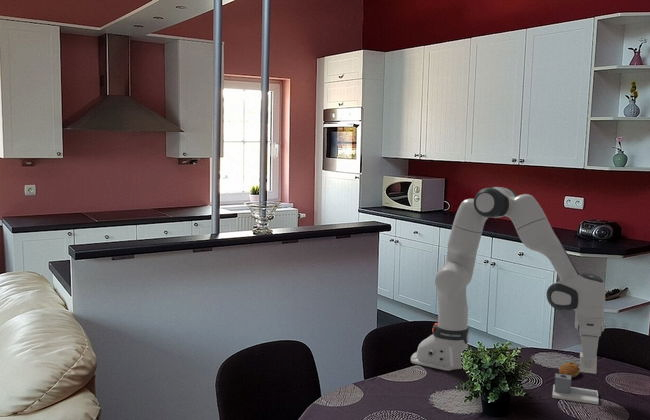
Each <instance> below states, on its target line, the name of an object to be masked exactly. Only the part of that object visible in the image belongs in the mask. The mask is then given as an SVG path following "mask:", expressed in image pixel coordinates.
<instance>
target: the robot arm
mask: <svg viewBox="0 0 650 420" xmlns="http://www.w3.org/2000/svg"><path fill="white" fill-rule="evenodd" d="M502 217H503V218H505V217H506V218H509V220H511V223H512V224H513V226H514V228H515V230H516V234H517V235H518V238H519V239H520V241H521V242H522V244H523V245H524V246H525V247H526V248H527V249H529V250H532V251H534V252H537V253H540V254H541V255H543V256H545V258H547V260H549V261H550V263H551V265H552V267H553V269H554V271H555V272H556V274H557V277H558V278H559V281H556V282H554V283H552V284H551V285H550V286H548V288H547V290H546V299H547V302H548V303H549V305H550V306H551V307H552V308H553V309H555V310H558V311H574V312H575V313H574V315H575V317H574V328H575V329H576V330H577V332H578V334H579V335H580V341H581V353H582V354H583V358H584V359H585V367H586V368H591V362H592V360H595V358H596V355H597V354H598V347H599V340H600V337H601V335H602V333H603V332H604V331H605V317H606V315H605V312H604V307H605V305H606V286H605V283H604V280H603V278H601V277H600V276H598V275H595V274H593V273H585V272H584V273H580V272H579V271H578V270H577V268H576V266H575V265H574V263H573V261H572V260H571V258H570V256H569V254H568V252H567V250H566V249H565V247H564V245H563V244H562V242H561V241H560V240H559V238H558V236H557V235H556V234H555V231H554V230H553V228H552V225H551V224H550V221H549V220H548V217H547V215H546V214H545V211H544V210H543V208H542V207H541V205H540V203H539V202H538V201H537V200H536V198H535V197H534V196H533V195H532V194H529V193H524V194H519V195H517V193H516V192H515V191H514V190H512V189H511V188H509V187H501V186H493V187H485V188H482V189H480V190H479V191H478V192H477V193H476V194H475V196H474V198H467V199H464V200H463V201H461V203H460V205H459V207H458V208H457V211H456V213H455V216H454V220H453V223H452V226H451V230H450V234H449V236H448V237H449V238H448V242H447V251H446V258H445V259H446V260H445V263H444V265H443V266H442V267H441V268H440V269H439V270H438V271H437V272H436V276H435V279H434V280H435V281H434V283H435V287H436V297H437V305H438V308H437V309H438V312H437V313H438V315H437V317H438V318H437V322H435V323H434V324H433V326H432V334H430V335H429V336H427V338H425V339H423V340H421V342H420V343H419V344H418V346H417V350H416V351H415V352H414V353H413V354H412V355H411V356H410V362H411V363H412V364H415V365H419V366H424V367H427V368H433V369H436V370H437V369H438V370H442V371H448V372H449V371H452V370H461V369H462V365H461V353H462V352H463V351H464V350H465V348H468V349H469V347H468V346H469V345H468V343H469V338H470V336H469V335H470V331H469V327H468V326H469V325H468V324H469V321H468V320H469V305H468V301H467V300H468V299H467V286H468V285H469V284H470V283H471V281H472V279H473V274H474V270H475V269H474V268H475V264H476V259H477V252H478V248H479V245H480V241H481V238H482V234H483V230H484V226H485V223H486V221H487V220H488V219H498V218H502Z"/></svg>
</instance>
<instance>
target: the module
mask: <svg viewBox="0 0 650 420" xmlns="http://www.w3.org/2000/svg"><path fill="white" fill-rule="evenodd" d="M597 362H598V357H597V354H596V358H595V360H592V362H591V368H586V367H585V359H584V358H583V354H582V352H580V353H579V370H580V373H585V374H586V373H589V374H595V375H597V370H598V369H597V367H598V366H597V365H598V363H597Z"/></svg>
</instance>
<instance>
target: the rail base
mask: <svg viewBox="0 0 650 420" xmlns="http://www.w3.org/2000/svg"><path fill="white" fill-rule="evenodd" d="M554 375H555V376H554V384H553V385H552V396H551V397H552V398H553V399H559V400H565V401H571V402H578V403H583V404H584V403H586V404H592V405H598V406H599V402H600V401H599V392H598V390H594V389H589V388H583V387H582V388H581V387H575V386H574V387H573V386H572V378H571V375H566V374H559V373H557V372H556V373H555V374H554Z"/></svg>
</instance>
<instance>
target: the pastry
mask: <svg viewBox="0 0 650 420" xmlns="http://www.w3.org/2000/svg"><path fill="white" fill-rule="evenodd" d="M558 371H559V373H558V374H566V375H571V379H573V378H576V377H577V376H578V375H579V374H580V373H581V372H580V367H579V366H578V365H577V364H576V363H575V362H572V361H571V362H565V363H564V364H562V365H560V367H559V368H558Z"/></svg>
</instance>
